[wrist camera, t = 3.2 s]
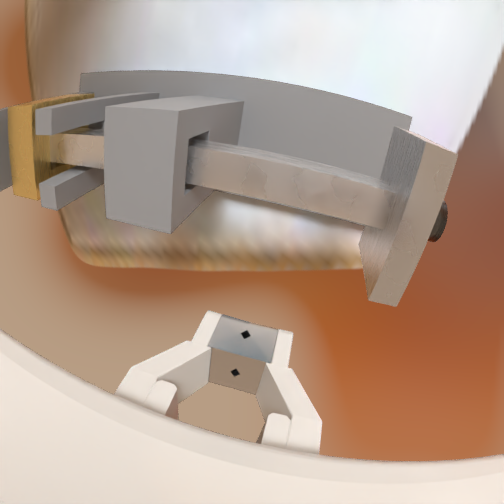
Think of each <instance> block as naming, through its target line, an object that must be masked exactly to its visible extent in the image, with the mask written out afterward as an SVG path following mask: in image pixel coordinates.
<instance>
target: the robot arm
mask: <svg viewBox="0 0 504 504" xmlns="http://www.w3.org/2000/svg"><path fill="white" fill-rule="evenodd" d="M292 340H293V332H290V331H285V330H280V329H279V330H278V329H276V328H272V327H267V326H263V325H259V324H255V323H251V322H247V321H244V320H240V319H237V318H234V317H230V316H227V315H223V314H219V313H216V312H212V311H210V310H208V311H207V312H206V314H205V316H204V317H203V319H202V321H201V323H200V325H199V327H198V329H197V331H196V333H195V335H194V337H193V339H192V341H185V342H182V343H180V344H179V345H176V346H174V347H172V348H170V349H168V350H166V351H164V352H162V353H160V354H158V355H156V356H153V357H152V358H149V359H147V360H145V361H143V362H141V363H139V364H136V365H134V366H132V367H131V368H130V370H129V371H128V373H127V375H126V376H125V377H124V379H123V381H122V382H121V384H120V385H119V387H118V388H117V390H116V392H115V393H114V394H112V393H110V392H108V391H106V390H103V389H101V388H99V387H97V386H95V385H93V384H91V383H89V382H87V381H85V380H83V379H81V378H80V377H78V376H76V375H74V374H72V373H70V372H68V371H67V370H65V369H63V368H61V367H59V366H58V365H56V364H54V363H53V362H51V361H49V360H47V359H46V358H44V357H42V356H41V355H39V354H37V353H36V352H34V351H33V350H31V349H30V348H28V347H27V346H25V345H23V344H22V343H20V342H19V341H17V340H16V339H14V338H13V337H12V336H10V335H8V334H7V333H6V332H4V331H3V330H2V329H0V504H504V454H500V455H494V456H487V457H479V458H470V459H459V460H444V461H379V460H363V459H351V458H341V457H333V456H325V455H319V448H320V439H321V429H322V420H321V419H320V417H319V415H318V413H317V412H316V410H315V408H314V406H313V405H312V403H311V401H310V399H309V398H308V396H307V394H306V393H305V391H304V389H303V387H302V386H301V384H300V382H299V380H298V379H297V377H296V375H295V373H294V372H293V370H292V369H290V368H288V364H289V358H290V352H291V346H292ZM208 382H212V383H215V384H219V385H223V386H226V387H231V388H234V389H237V390H240V391H244V392H247V393H251V394H254V395H256V398H257V401H258V404H259V407H260V409H261V412H262V415H263V417H264V420H265V424H264V426H263V428H262V431H261V433H260V435H259V437H258V440H257V442H256V443H254V442H250V441H246V440H242V439H238V438H234V437H230V436H227V435H223V434H220V433H216V432H213V431H209V430H206V429H203V428H200V427H196V426H193V425H190V424H187V423H184V422H182V421H179V419H178V404H179V403H180V402H181V401H183V400H185V399H186V398H187V397H189V396H190V395H192V394H193V393H195V392H196V391H197V390H199V389H200V388H202V387H203V386H204V385H206V384H207V383H208Z"/></svg>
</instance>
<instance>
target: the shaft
mask: <svg viewBox="0 0 504 504" xmlns="http://www.w3.org/2000/svg"><path fill="white" fill-rule="evenodd" d="M457 157H458V154H456V153H454V152H452V151H451V150H449V149H447V148H445V147H443V146H441V145H439V144H437V143H435V142H433V141H431V140H429V139H427V138H425V137H423V136H421V135H419V134H416V133H413V132H411V131H408V130H405V129H402V128H399V127H396V126H394V128H393V132H392V136H391V140H390V143H389V147H388V151H387V155H386V158H385V162H384V165H383V169H382V172H381V176H380V179H377V178H374V177H370V176H367V175H363V174H360V173H356V172H353V171H349V170H345V169H342V168H338V167H334V166H330V165H326V164H322V163H318V162H314V161H310V160H306V159H301V158H297V157H292V156H288V155H283V154H279V153H274V152H269V151H264V150H259V149H254V148H249V147H243V146H238V145H232V144H226V143H220V142H214V141H208V140H201V139H194V138H189V144H188V155H187V166H186V178H185V183H187V184H193V185H198V186H203V187H208V188H213V189H218V190H223V191H227V192H232V193H237V194H241V195H246V196H251V197H255V198H260V199H264V200H269V201H273V202H277V203H282V204H286V205H290V206H294V207H299V208H303V209H307V210H311V211H315V212H319V213H323V214H327V215H331V216H335V217H339V218H342V219H346V220H350V221H354V222H358V223H361V224H365V227H364V230H363V233H362V236H361V239H360V241H359V249H360V254H361V260H362V265H363V271H364V276H365V282H366V289H367V295H368V300H369V301H373V302H378V303H383V304H387V305H391V306H395V307H396V306H397V305H398V303H399V301H400V298H401V297H402V295H403V293H404V291H405V288H406V287H407V285H408V283H409V280H410V279H411V276H412V274H413V272H414V270H415V268H416V265H417V264H418V261H419V259H420V257H421V254H422V252H423V250H424V248H425V245H426V243H427V241H430V242H436V241H437V240H438V239H439V238H440V237H441V235H442V233H443V231H444V229H445V225H446V222H447V214H448V211H447V205H446V203H445V201H444V197H445V194H446V191H447V188H448V185H449V182H450V179H451V176H452V173H453V170H454V167H455V164H456V160H457ZM50 160H51V162H56V163H64V164H71V165H78V166H86V167H93V168H99V169H104V129H95V128H74V129H71V130H67V131H64V132H61V133H58V134H54V135H50Z"/></svg>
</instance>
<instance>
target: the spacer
mask: <svg viewBox="0 0 504 504" xmlns="http://www.w3.org/2000/svg"><path fill="white" fill-rule="evenodd" d="M94 94H95V93H93V94H70V95H63V96H57V97H51V98H46V99H41V100H36V101H32V102H27V103H23V104H19V105H15V106H11V107H8V141H9V156H10V167H11V176H12V184H13V192H14V195H17V196H21V197H25V198H29V199H33V200H39V199H41V197H40V189H39V183H41V182H43V181H45V180H47V179H49V178H52V177H54V176H56V175H58V174H60V173H62V172H64V171H66V170H69V169H71V168H73V167H75V166H77V165H71V164H64V163H56V162H51V160H50V135H36V128H35V109H39V108H44V107H48V106H53V105H58V104H63V103H68V102H73V101H79V100H84V99H91V98H94ZM78 128H88V125H85V126H81V127H78Z"/></svg>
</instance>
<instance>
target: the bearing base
mask: <svg viewBox="0 0 504 504" xmlns="http://www.w3.org/2000/svg"><path fill="white" fill-rule="evenodd" d="M93 93H95V94H94V98H91V99H84V100H79V101H73V102H68V103H63V104H58V105H53V106H48V107H44V108H39V109H35V128H36V135H54V134H58V133H61V132H64V131H67V130H71V129H74V128H78V127H81V126H85V125H88V128H95V129H104V169H99V168H93V167H86V166H78V165H77V166H75V167H73V168H71V169H69V170H66V171H64V172H62V173H60V174H58V175H56V176H54V177H52V178H49V179H47V180H45V181H43V182H41V183H39V189H40V197H41V205H42V207H45V208H49V209H53V210H56V211H57V210H59V209H61V208H62V207H64V206H66V205H67V204H69V203H71V202H72V201H74V200H76V199H77V198H79V197H81V196H83V195H84V194H86V193H88V192H90V191H91V190H93V189H95V188H97V187H98V186H100V185H102V184H104V186H105V207H106V218H107V219H111V220H115V221H119V222H123V223H128V224H132V225H136V226H140V227H144V228H148V229H152V230H156V231H160V232H164V233H168V234H171V233H172V232H173V231H174V230H175V229H176V228H177V227H178V226H179V225H180V224H181V223H182V222H183V221H184V220H185V219H186V218H187V217H188V216H189V215H190V214H191V213H192V212H193V211H194V210H195V209H196V208H197V207H198V206H199V205H200V204H201V203H202V202H203V201H204V200H205V199H206V198H207V197H208V196H209V195H210V194H211V193H212V192H213V191H214V190H216V191H221V192H226V193H230V194H235V195H240V196H244V197H249V198H253V199H258V200H262V201H267V202H271V203H276V204H280V205H284V206H288V207H293V208H297V209H301V210H305V211H309V212H313V213H317V214H321V215H325V216H329V217H333V218H337V219H341V220H345V221H348V222H352V223H356V224H360V225H363V226H365V224H361V223H358V222H354V221H350V220H346V219H342V218H339V217H335V216H331V215H327V214H323V213H319V212H315V211H311V210H307V209H303V208H299V207H294V206H290V205H286V204H282V203H277V202H273V201H269V200H264V199H260V198H255V197H251V196H246V195H241V194H237V193H232V192H227V191H223V190H218V189H213V188H208V187H203V186H198V185H193V184H187V183H185V178H186V166H187V155H188V144H189V138H194V139H201V140H208V141H214V142H220V143H226V144H232V145H238V146H243V147H249V148H254V149H259V150H264V151H269V152H274V153H279V154H283V155H288V156H292V157H297V158H301V159H306V160H310V161H314V162H318V163H322V164H326V165H330V166H334V167H338V168H342V169H345V170H349V171H353V172H356V173H360V174H363V175H367V176H370V177H374V178H377V179H380V176H381V172H382V169H383V165H384V162H385V158H386V155H387V151H388V147H389V143H390V140H391V136H392V132H393V128H394V126H396V127H399V128H402V129H405V130H408V131H409V128H410V124H411V120H412V117H411V116H408V115H405V114H402V113H399V112H396V111H393V110H390V109H387V108H384V107H381V106H378V105H374V104H371V103H368V102H364V101H361V100H357V99H354V98H350V97H346V96H343V95H339V94H335V93H331V92H326V91H322V90H318V89H313V88H309V87H304V86H299V85H294V84H288V83H283V82H277V81H271V80H265V79H258V78H251V77H243V76H235V75H226V74H215V73H203V72H187V71H158V70H138V71H109V72H93V73H82V74H81V78H80V92H79V93H75V94H93ZM68 95H70V94H68ZM62 96H63V95H62ZM56 97H57V96H56ZM31 102H32V101H31ZM22 104H23V103H22ZM18 105H19V104H18ZM14 106H15V105H14ZM10 107H11V106H10ZM12 185H13V184H12V176H11V167H10V156H9V141H8V107H6V108H2V109H0V191H2V190H4V189H6V188H8V187H10V186H12Z"/></svg>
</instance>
